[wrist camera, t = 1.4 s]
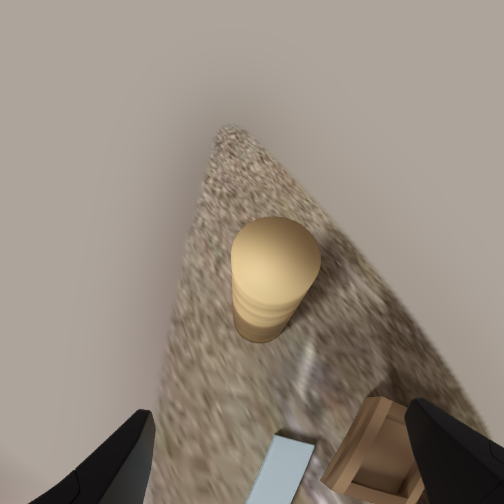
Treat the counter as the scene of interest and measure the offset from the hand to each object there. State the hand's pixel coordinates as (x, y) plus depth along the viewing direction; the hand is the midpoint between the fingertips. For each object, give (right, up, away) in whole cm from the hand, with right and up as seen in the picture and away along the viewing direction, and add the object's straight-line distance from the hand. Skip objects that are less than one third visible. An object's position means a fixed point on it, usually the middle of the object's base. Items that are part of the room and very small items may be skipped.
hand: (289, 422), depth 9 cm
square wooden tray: (+9, -10, +10) cm, 17 cm away
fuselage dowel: (-1, 0, +15) cm, 15 cm away
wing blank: (0, -12, +8) cm, 15 cm away
